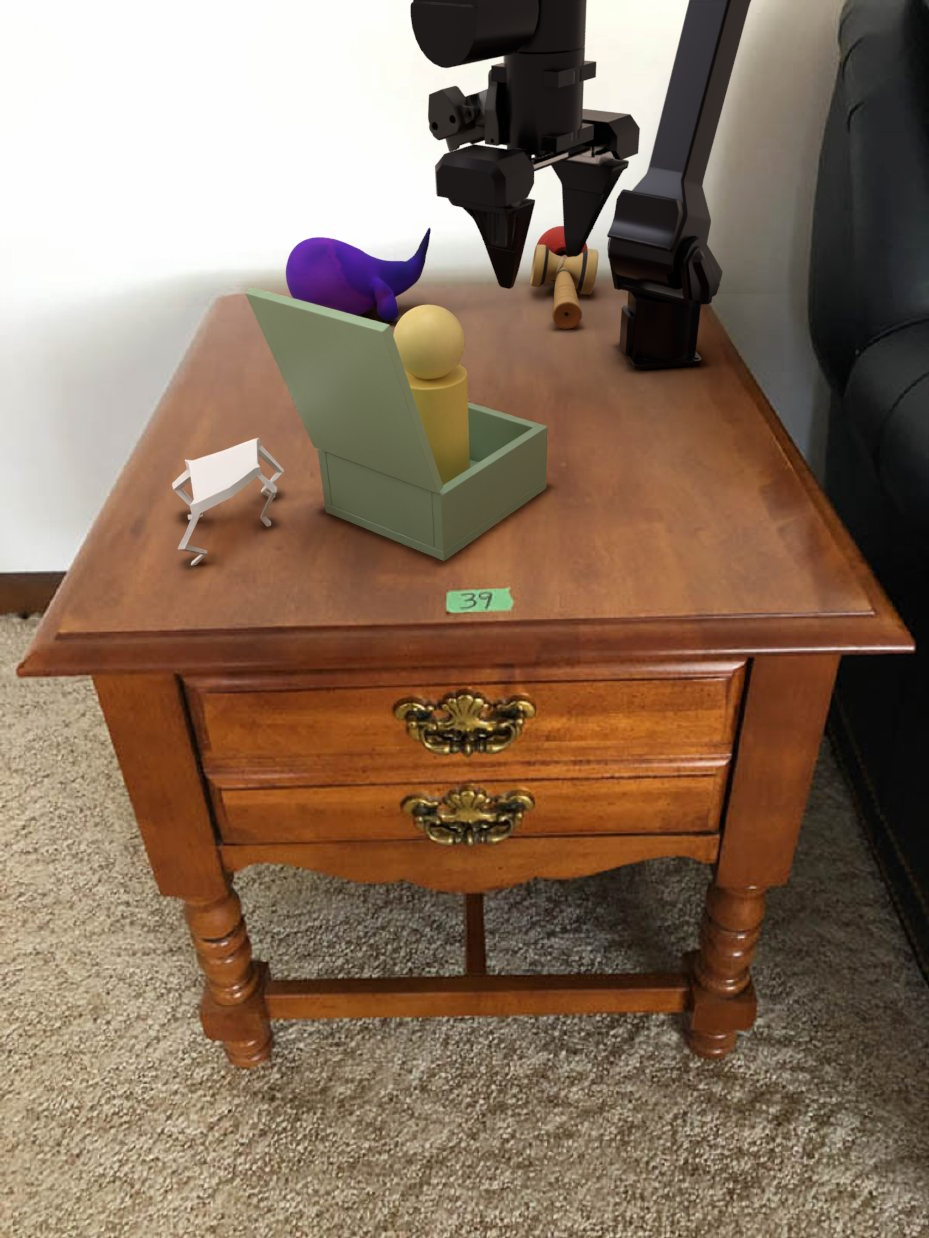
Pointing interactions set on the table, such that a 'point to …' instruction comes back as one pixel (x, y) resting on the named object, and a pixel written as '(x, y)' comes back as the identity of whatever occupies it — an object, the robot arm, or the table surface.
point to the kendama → (564, 275)
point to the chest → (445, 488)
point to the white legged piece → (223, 482)
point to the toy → (351, 276)
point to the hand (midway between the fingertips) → (540, 271)
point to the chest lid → (348, 386)
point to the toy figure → (437, 383)
